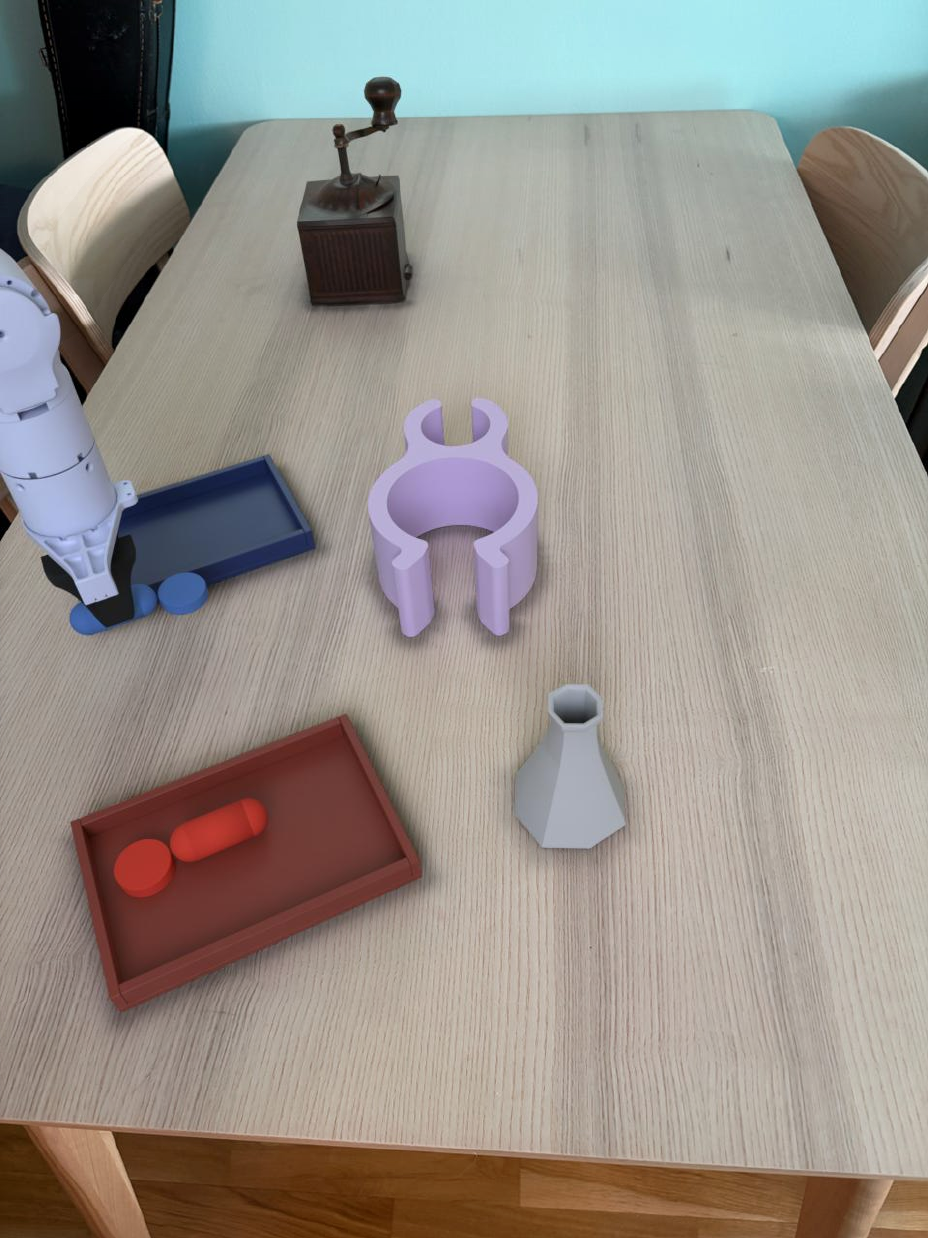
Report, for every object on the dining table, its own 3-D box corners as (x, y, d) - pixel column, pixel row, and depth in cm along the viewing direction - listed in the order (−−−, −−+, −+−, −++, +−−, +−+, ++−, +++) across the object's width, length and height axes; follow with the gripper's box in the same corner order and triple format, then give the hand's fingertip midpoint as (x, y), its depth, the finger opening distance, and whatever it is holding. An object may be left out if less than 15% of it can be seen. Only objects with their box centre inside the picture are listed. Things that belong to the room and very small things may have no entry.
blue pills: (201, 575, 72) (193, 552, 70) (214, 605, 70) (206, 581, 68) (72, 619, 69) (60, 596, 67) (80, 651, 67) (68, 628, 65)
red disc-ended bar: (125, 907, 57) (112, 887, 56) (113, 860, 59) (101, 840, 58) (278, 842, 60) (271, 821, 58) (262, 799, 62) (254, 778, 60)
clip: (389, 466, 85) (381, 400, 80) (532, 463, 85) (532, 396, 80) (370, 637, 72) (358, 570, 67) (540, 635, 71) (541, 566, 66)
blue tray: (103, 621, 74) (94, 603, 73) (76, 534, 81) (68, 515, 80) (315, 548, 78) (312, 530, 77) (273, 471, 86) (269, 453, 84)
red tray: (120, 1013, 54) (109, 999, 52) (80, 838, 61) (69, 821, 60) (422, 877, 58) (420, 860, 57) (350, 730, 66) (346, 712, 64)
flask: (532, 866, 58) (533, 773, 51) (497, 770, 63) (494, 672, 56) (644, 835, 60) (662, 739, 52) (602, 742, 64) (612, 643, 57)
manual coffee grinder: (411, 302, 104) (395, 126, 91) (309, 307, 104) (278, 132, 91) (415, 235, 115) (401, 68, 102) (322, 239, 115) (296, 74, 102)
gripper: (138, 498, 55) (197, 656, 64) (90, 371, 64) (148, 527, 74) (9, 538, 53) (90, 694, 63) (-22, 401, 62) (53, 557, 72)
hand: (114, 606), depth 68 cm, fingers closed on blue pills, 2 cm apart
